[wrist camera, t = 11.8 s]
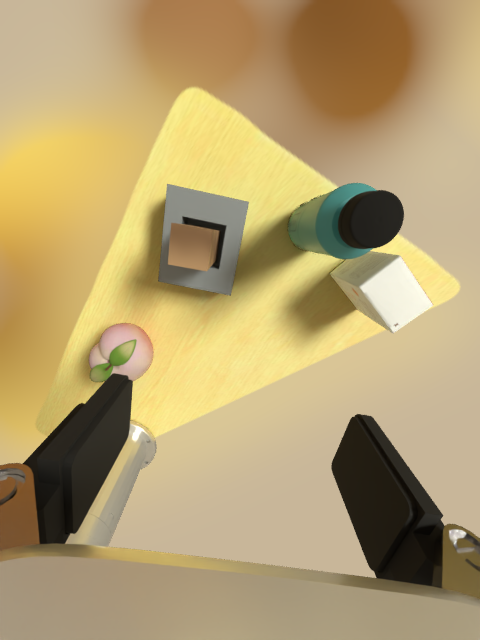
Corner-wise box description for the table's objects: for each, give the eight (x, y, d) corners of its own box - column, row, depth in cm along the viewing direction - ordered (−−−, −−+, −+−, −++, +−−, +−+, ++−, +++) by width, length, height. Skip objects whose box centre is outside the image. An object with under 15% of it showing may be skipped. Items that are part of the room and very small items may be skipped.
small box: (386, 287, 39) (436, 306, 29) (356, 310, 41) (394, 335, 31) (358, 247, 37) (401, 253, 27) (327, 272, 39) (358, 287, 29)
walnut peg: (217, 259, 37) (207, 271, 26) (189, 254, 37) (167, 264, 25) (221, 230, 36) (212, 230, 24) (193, 225, 35) (171, 222, 24)
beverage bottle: (303, 259, 38) (367, 287, 19) (274, 225, 36) (313, 219, 17) (338, 227, 36) (445, 222, 18) (309, 190, 35) (393, 142, 16)
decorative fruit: (143, 372, 44) (116, 410, 35) (102, 345, 43) (63, 378, 33) (173, 335, 42) (154, 364, 33) (131, 304, 40) (97, 327, 31)
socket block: (231, 287, 39) (230, 295, 35) (168, 275, 39) (158, 281, 34) (247, 205, 35) (248, 201, 31) (177, 190, 35) (167, 183, 30)
